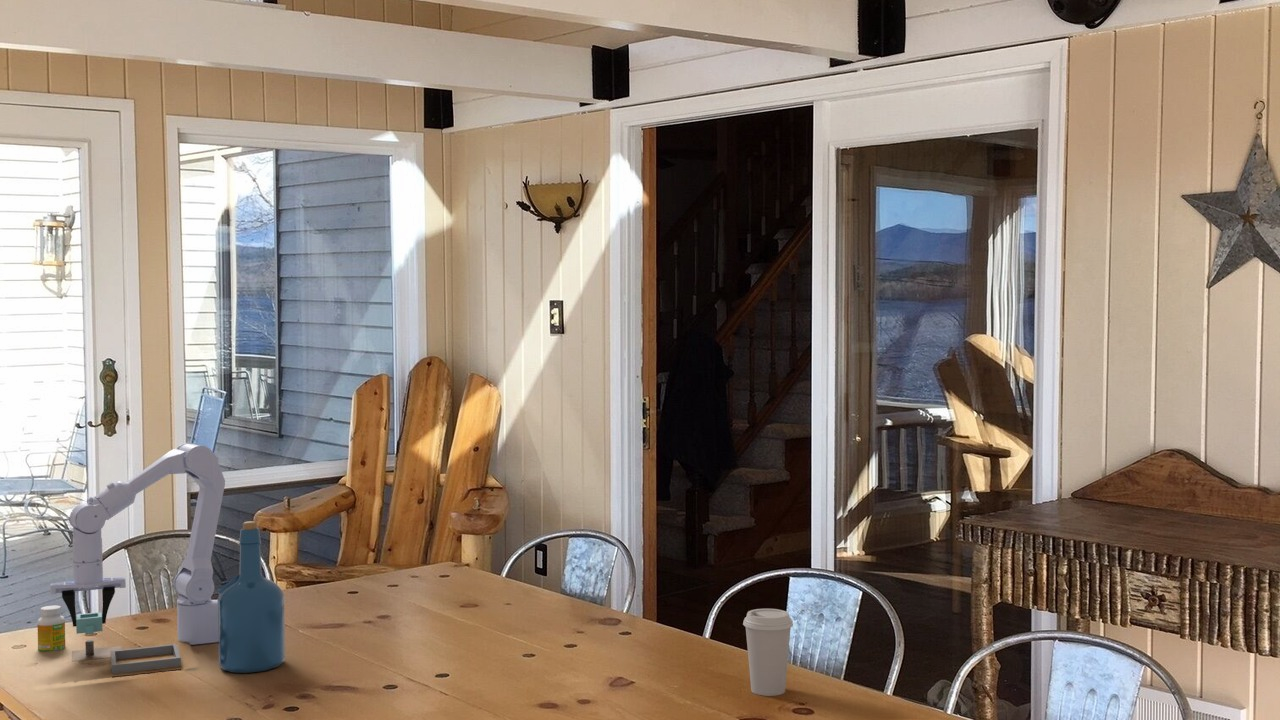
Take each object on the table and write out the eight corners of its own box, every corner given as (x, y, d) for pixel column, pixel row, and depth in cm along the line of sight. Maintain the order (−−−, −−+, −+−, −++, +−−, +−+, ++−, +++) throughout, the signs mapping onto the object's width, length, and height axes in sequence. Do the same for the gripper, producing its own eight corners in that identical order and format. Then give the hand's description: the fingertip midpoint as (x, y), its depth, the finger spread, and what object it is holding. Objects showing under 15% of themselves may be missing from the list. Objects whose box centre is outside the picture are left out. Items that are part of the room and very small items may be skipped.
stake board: (122, 649, 271) (122, 633, 271) (123, 659, 263) (123, 643, 263) (71, 654, 267) (71, 638, 267) (71, 665, 259) (71, 648, 259)
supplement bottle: (54, 655, 266) (53, 610, 266) (32, 654, 267) (31, 609, 267) (70, 649, 271) (69, 605, 271) (49, 648, 272) (48, 604, 272)
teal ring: (102, 625, 267) (101, 612, 267) (102, 632, 261) (102, 618, 261) (76, 628, 265) (76, 614, 265) (76, 635, 259) (76, 621, 259)
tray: (176, 655, 266) (176, 643, 266) (181, 669, 255) (180, 657, 255) (110, 662, 260) (110, 650, 260) (112, 677, 249) (111, 665, 249)
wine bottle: (298, 660, 262) (296, 518, 261) (259, 677, 249) (257, 528, 248) (243, 654, 266) (241, 515, 265) (202, 671, 254) (200, 525, 253)
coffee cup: (739, 684, 242) (739, 608, 242) (787, 682, 243) (787, 606, 243) (747, 699, 233) (747, 620, 232) (798, 697, 234) (797, 618, 233)
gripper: (49, 567, 257) (51, 632, 257) (125, 560, 263) (126, 624, 263) (50, 561, 263) (51, 624, 264) (124, 555, 269) (125, 617, 270)
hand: (89, 624), depth 264 cm, fingers closed on teal ring, 5 cm apart
